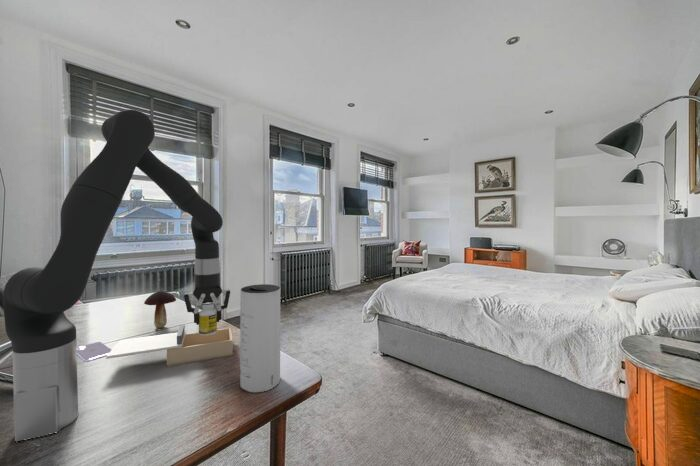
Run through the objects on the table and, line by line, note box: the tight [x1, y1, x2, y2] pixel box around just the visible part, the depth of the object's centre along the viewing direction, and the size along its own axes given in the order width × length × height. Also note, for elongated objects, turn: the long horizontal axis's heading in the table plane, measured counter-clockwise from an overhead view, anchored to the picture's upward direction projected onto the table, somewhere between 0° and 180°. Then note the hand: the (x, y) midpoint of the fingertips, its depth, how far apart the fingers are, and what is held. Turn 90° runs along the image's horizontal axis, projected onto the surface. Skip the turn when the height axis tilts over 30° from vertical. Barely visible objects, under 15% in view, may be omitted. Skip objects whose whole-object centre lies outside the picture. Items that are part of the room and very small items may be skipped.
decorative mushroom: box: [143, 290, 177, 329], centre depth 116 cm, size 11×11×15 cm
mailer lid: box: [105, 324, 187, 360], centre depth 88 cm, size 12×18×3 cm, turn 115°
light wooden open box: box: [166, 327, 234, 368], centre depth 94 cm, size 12×18×5 cm, turn 115°
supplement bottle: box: [198, 302, 218, 336], centre depth 95 cm, size 5×5×10 cm
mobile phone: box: [77, 341, 113, 363], centre depth 95 cm, size 8×1×15 cm
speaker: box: [239, 283, 281, 394], centre depth 77 cm, size 11×10×26 cm
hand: (208, 322), depth 95 cm, fingers closed on supplement bottle, 5 cm apart
